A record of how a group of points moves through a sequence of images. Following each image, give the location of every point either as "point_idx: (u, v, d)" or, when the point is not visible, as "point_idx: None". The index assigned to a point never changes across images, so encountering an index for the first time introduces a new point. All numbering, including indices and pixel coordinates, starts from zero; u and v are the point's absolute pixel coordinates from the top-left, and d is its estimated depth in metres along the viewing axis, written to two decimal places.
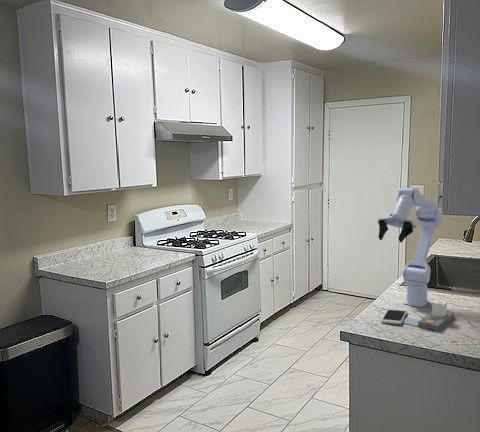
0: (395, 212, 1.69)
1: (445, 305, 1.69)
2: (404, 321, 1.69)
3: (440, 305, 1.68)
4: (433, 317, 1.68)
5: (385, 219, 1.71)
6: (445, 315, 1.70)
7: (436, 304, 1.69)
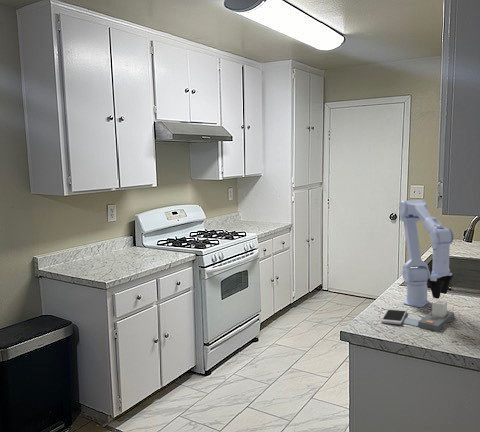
0: (447, 268, 1.66)
1: (445, 305, 1.69)
2: (404, 321, 1.69)
3: (440, 305, 1.68)
4: (433, 317, 1.68)
5: (439, 276, 1.64)
6: (445, 315, 1.70)
7: (436, 304, 1.69)
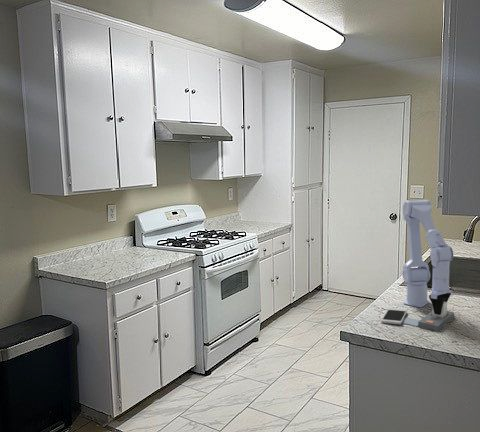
0: (447, 286, 1.67)
1: (445, 305, 1.69)
2: (404, 321, 1.69)
3: None
4: (433, 317, 1.68)
5: None
6: (445, 315, 1.70)
7: None
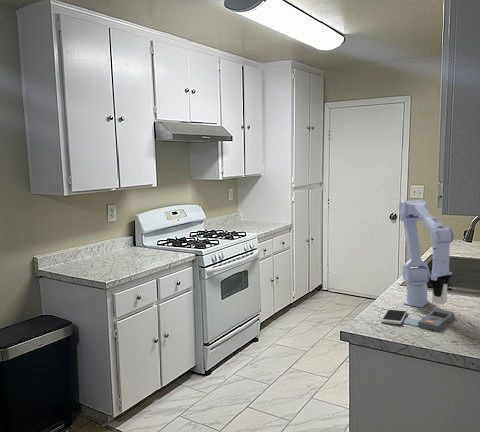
0: (447, 267, 1.66)
1: (445, 287, 1.68)
2: (404, 321, 1.69)
3: None
4: (433, 317, 1.68)
5: (439, 276, 1.64)
6: (445, 297, 1.69)
7: None
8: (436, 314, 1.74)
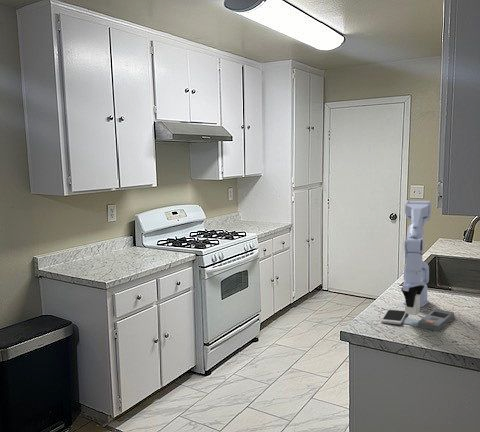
0: (419, 278, 1.64)
1: (418, 298, 1.66)
2: (404, 321, 1.69)
3: None
4: (433, 317, 1.68)
5: None
6: (418, 308, 1.67)
7: None
8: (436, 314, 1.74)
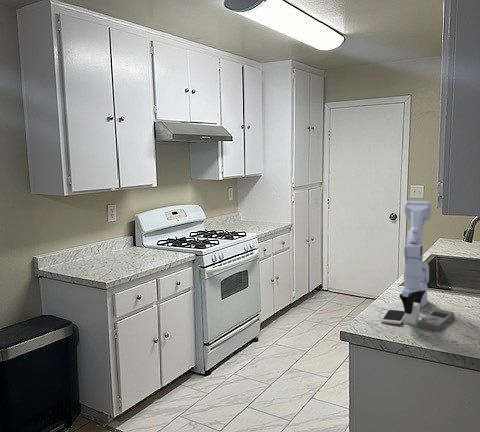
0: (419, 283, 1.64)
1: (418, 307, 1.67)
2: (404, 321, 1.69)
3: None
4: (433, 317, 1.68)
5: None
6: (418, 317, 1.68)
7: None
8: (436, 314, 1.74)
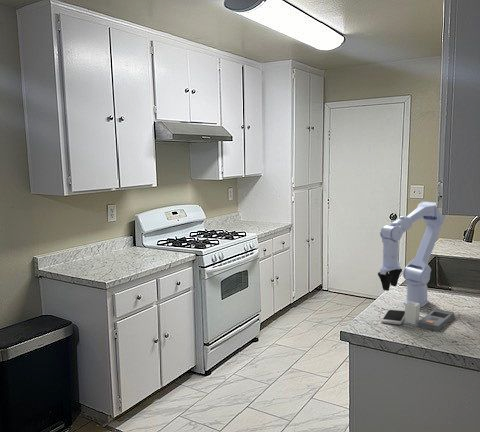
0: (396, 262, 1.77)
1: (418, 307, 1.67)
2: (404, 321, 1.69)
3: (412, 307, 1.66)
4: (433, 317, 1.68)
5: None
6: (418, 317, 1.68)
7: (408, 306, 1.67)
8: (436, 314, 1.74)
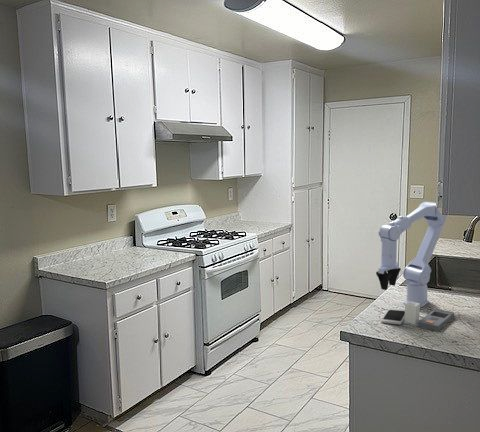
0: (394, 262, 1.78)
1: (418, 307, 1.67)
2: (404, 321, 1.69)
3: (412, 307, 1.66)
4: (433, 317, 1.68)
5: (387, 269, 1.77)
6: (418, 317, 1.68)
7: (408, 306, 1.67)
8: (436, 314, 1.74)
